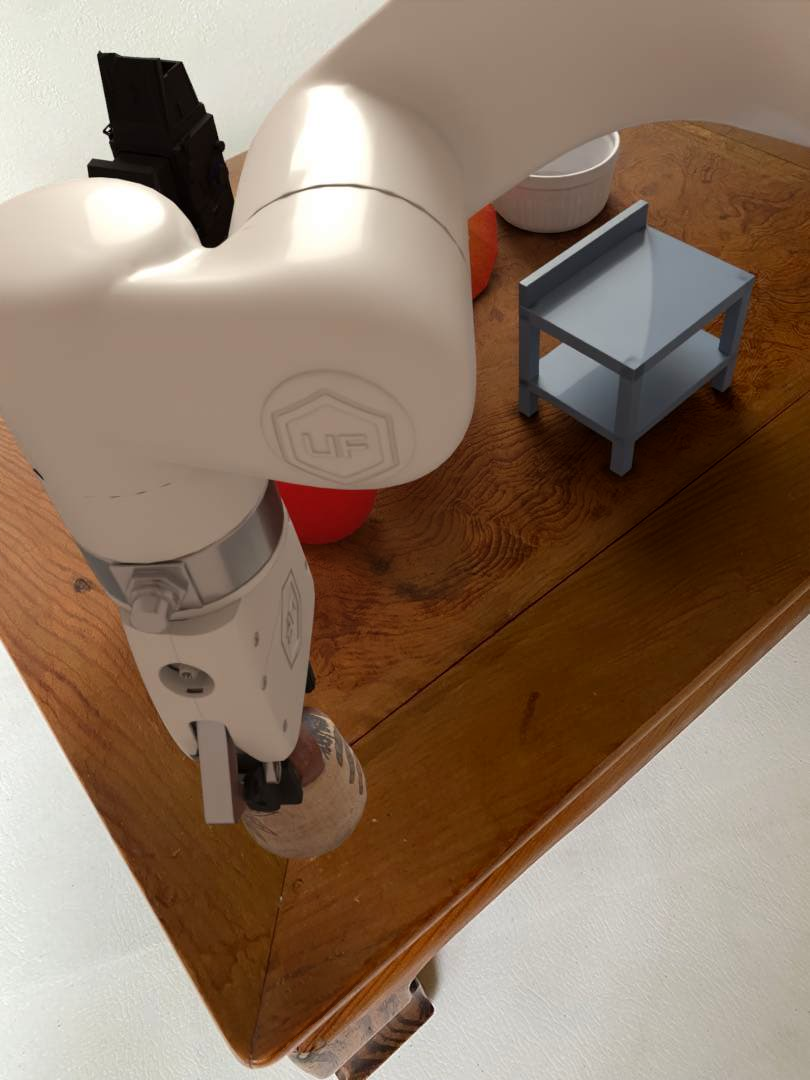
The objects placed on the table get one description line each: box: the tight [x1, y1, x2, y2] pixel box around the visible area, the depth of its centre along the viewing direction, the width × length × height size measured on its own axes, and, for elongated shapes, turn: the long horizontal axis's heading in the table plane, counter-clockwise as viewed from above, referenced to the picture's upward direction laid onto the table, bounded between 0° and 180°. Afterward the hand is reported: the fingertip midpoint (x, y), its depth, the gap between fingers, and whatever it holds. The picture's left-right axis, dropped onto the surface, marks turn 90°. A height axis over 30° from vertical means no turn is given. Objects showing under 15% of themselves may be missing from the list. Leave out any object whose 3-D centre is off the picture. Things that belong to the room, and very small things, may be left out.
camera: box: [86, 49, 235, 248], centre depth 93 cm, size 10×14×20 cm
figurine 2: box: [236, 705, 368, 860], centre depth 51 cm, size 7×7×12 cm
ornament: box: [276, 481, 378, 545], centre depth 73 cm, size 9×9×10 cm
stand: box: [518, 199, 756, 477], centre depth 78 cm, size 11×14×13 cm
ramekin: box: [491, 131, 621, 234], centre depth 99 cm, size 13×13×7 cm
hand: (279, 739), depth 51 cm, fingers closed on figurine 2, 5 cm apart
